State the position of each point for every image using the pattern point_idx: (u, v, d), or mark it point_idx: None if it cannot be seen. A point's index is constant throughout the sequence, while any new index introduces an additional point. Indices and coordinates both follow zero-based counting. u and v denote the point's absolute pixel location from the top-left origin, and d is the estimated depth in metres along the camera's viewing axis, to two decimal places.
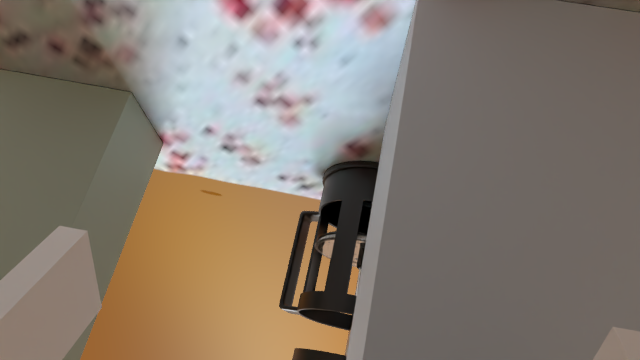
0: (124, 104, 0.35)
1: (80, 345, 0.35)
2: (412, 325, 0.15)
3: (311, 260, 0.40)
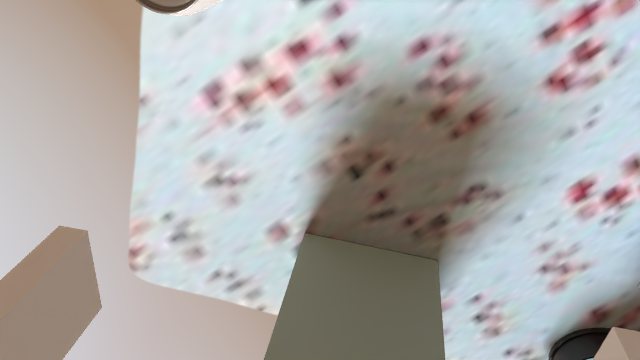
0: (437, 267, 0.47)
1: None
2: None
3: None
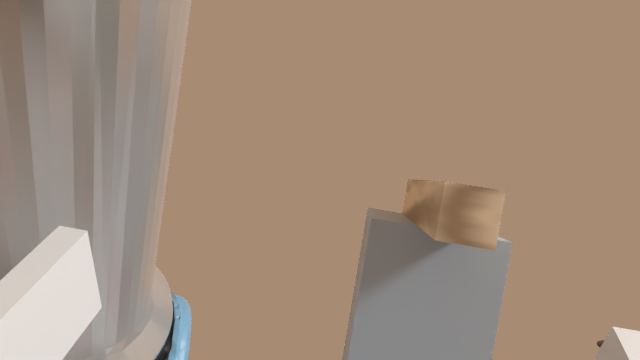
0: None
1: None
2: None
3: None
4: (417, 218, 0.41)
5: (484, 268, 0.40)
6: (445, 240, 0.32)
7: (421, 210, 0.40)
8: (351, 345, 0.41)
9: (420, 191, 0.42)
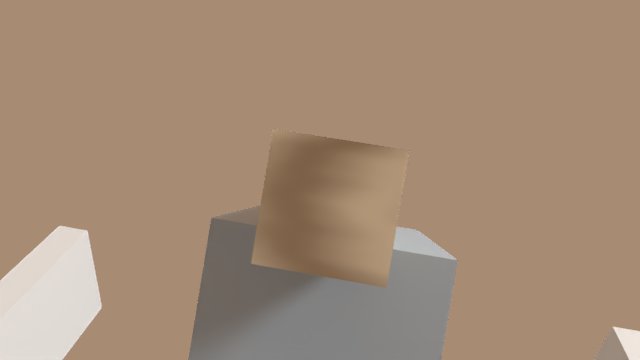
0: None
1: None
2: None
3: None
4: None
5: (408, 306, 0.22)
6: (274, 264, 0.14)
7: None
8: None
9: None
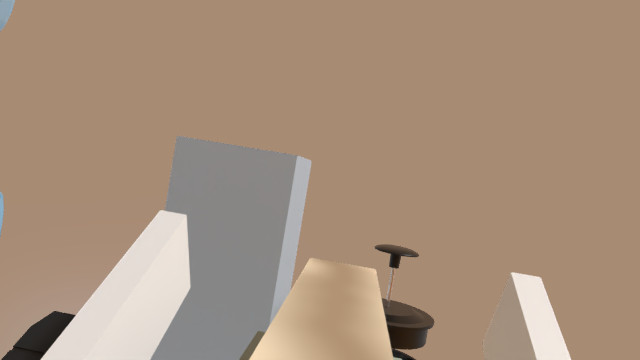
0: None
1: None
2: None
3: None
4: None
5: (273, 178, 0.45)
6: None
7: None
8: None
9: None
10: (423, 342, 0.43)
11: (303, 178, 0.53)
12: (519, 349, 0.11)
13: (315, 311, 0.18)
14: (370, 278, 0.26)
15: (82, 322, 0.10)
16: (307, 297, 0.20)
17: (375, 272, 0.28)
